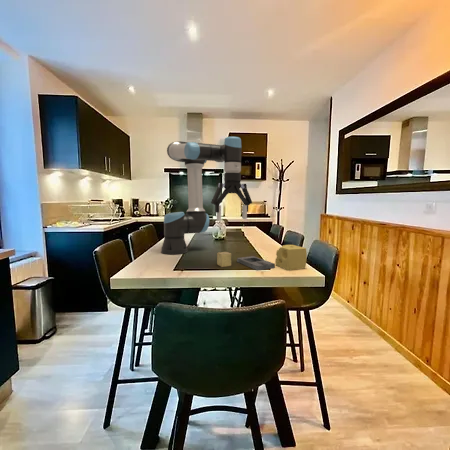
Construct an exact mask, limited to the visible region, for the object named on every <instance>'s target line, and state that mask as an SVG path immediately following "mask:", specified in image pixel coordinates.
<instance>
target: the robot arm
mask: <svg viewBox="0 0 450 450" xmlns="http://www.w3.org/2000/svg"><path fill="white" fill-rule="evenodd" d="M242 147H243V146H242V139H241V137H239V136H227V137H225V138H224V142H223V144H211V143H202V142H196V141H195V142H194V141H178V140H177V141H172V142H171V143H170V144H168V146H167V148H166V153H167V156H168V157H169V159H171V160H172V161H175V162H178V163H184V167H185V168H186V169H187V171H186V172H187V193H188V196H187V197H188V198H187V199H188V201H187V202H188V209H187V210H186V211H185V212H186V213H185V212H184V211H177V212H176V211H175V212H169V213H166V214H165V215H164V216H163V235H164V237H163V238H164V239H163V242H162V245H161V251H160V253H162V254H164V255H181V254H182V255H183V254H186V253H188V245H187V243H186V240H185V234H203V233H205V232H207V230H208V229H209V227H210V216H209V214H208V213H206V210H205V208H204V201H203V168H204V166H205V164H206V163H207V161H210V162H211V161H212V162H216V163H224V170H223V171H224V174H223V179H224V182H218V183H217V188H216V190H215V193H214V194H213V197H212V199H211V201H210V203H211V205H214V207H215V208H214V211H215V213H216V221H221V220H222V205H220V204H221V203H222V202H223V201H224V200H225V198H226V197H227V195H229V194H236V195H237V196H238V198H239V200H241V202H242V217H241V219H242V220H248V212H249V205H252V204H253V201H252V199H251V195H250V193H249V191H248V187H247V186H248V185H247V183H242V184H241V180H242V174H241V172H242ZM223 189H224V190H223ZM222 190H223V192H222ZM241 190H242V191H241ZM221 192H222V193H221Z"/></svg>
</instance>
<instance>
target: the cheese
mask: <svg viewBox="0 0 450 450" xmlns="http://www.w3.org/2000/svg"><path fill="white" fill-rule="evenodd" d="M307 252H308V251H307V248H306V247H303V246H299V245H295V244H284V245H282V246H280V247H279V248H278V249H277V250H276V254H275V255H276V258H275V263H274V264H275V267H278V268H279V267H280V268H281V269H284V270H286V271H295V270H303V269H306V265H307V257H308V256H307Z"/></svg>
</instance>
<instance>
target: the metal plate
mask: <svg viewBox="0 0 450 450" xmlns="http://www.w3.org/2000/svg"><path fill="white" fill-rule="evenodd" d="M236 262H237V263H239V264H241V265H244V266H246V267H248V268H251V269H253V270H256V271H264V270H270V269H275V268H276V263H273V262H271V261H268V260H266V259H263V258H259V257H257V256H255V255H250V256H244V257H243V256H242V257H236Z"/></svg>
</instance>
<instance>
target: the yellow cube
mask: <svg viewBox="0 0 450 450" xmlns="http://www.w3.org/2000/svg"><path fill="white" fill-rule="evenodd" d="M216 255H217V256H216V258H217V261H216V263H217V264H216V265H217V266H218V267H219V266H220V267H221V268H223V267H231V266H232V253H231V252H228V251H221V252H217V253H216Z"/></svg>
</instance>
